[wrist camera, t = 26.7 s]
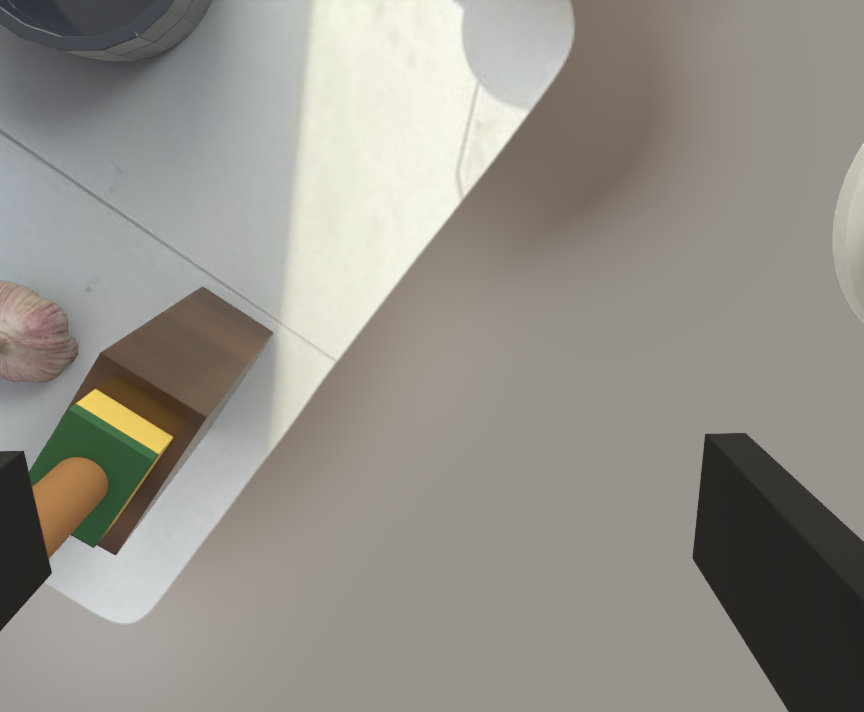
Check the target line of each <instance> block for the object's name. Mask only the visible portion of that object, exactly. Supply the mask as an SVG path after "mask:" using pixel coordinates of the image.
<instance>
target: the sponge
mask: <svg viewBox="0 0 864 712" xmlns="http://www.w3.org/2000/svg"><path fill="white" fill-rule="evenodd" d="M172 439H173V437H172V436H171V435H169V434H168V433H166V432H164V431H163V430H161V429H160V428H158V427H156V426H155V425H153V424H152V423H150V422H148V421H147V420H145V419H144V418H142V417H140V416H139V415H137V414H135V413H134V412H132V411H131V410H129V409H127V408H126V407H124V406H123V405H121V404H119V403H118V402H116V401H115V400H113V399H111V398H110V397H108V396H107V395H105V394H103V393H102V392H100V391H99V390H97V389H94V390H93V391H92V392H90V393H89V394H88V395H86V396H85V397H84V398H82V399H81V400H80V401H78V402H77V403H76V404H74V405H73V406H72V407H70V408H69V409H68V410H67V412H66V414H65V415H64V417H63V418H62V420H61V422H60V423H59V425H58V426H57V428H56V429H55V431H54V433H53V434H52V436H51V437H50V439H49V441H48V442H47V444H46V445H45V447H44V449H43V450H42V452H41V453H40V455H39V456H38V458H37V460H36V461H35V463H34V464H33V466H32V468H31V469H30V471H29V476H30V480H31V485H32V489H33V493H34V498H35V502H36V506H37V511H38V515H39V519H40V524H41V528H42V532H43V537H44V541H45V545H46V550H47V554H48V558H50V557H51V556H52V555H53V554H54V552H55V551H56V550H57V549H58V548H59V547H60V546H61V545H62V544H63V542H64V541H65V540H66V539H67V538H68V537H69V536H70V535H72V536H74V537H75V538H77V539H79V540H81V541H82V542H84V543H86V544H88V545H89V546H91V547H93V548H94V547H95V546H96V545H97V544H98V542H99V541H100V540H101V539H102V538H103V536H104V535H105V534H106V533H107V531H108V530H109V529H110V528H111V526H112V525H113V524H114V523H115V522H116V520H117V519H118V518H119V516H120V515H121V513H122V512H123V510H124V509H125V507H126V506H127V504H128V503H129V502H130V500H131V499H132V497H133V496H134V494H135V493H136V491H137V490H138V489H139V487H140V486H141V484H142V483H143V481H144V480H145V478H146V477H147V475H148V474H149V473H150V471H151V470H152V468H153V467H154V465H155V464H156V462H157V461H158V459H159V458H160V457H161V455H162V454H163V452H164V451H165V449H166V448H167V446H168V445H169V443H170V442H171V441H172Z"/></svg>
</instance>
